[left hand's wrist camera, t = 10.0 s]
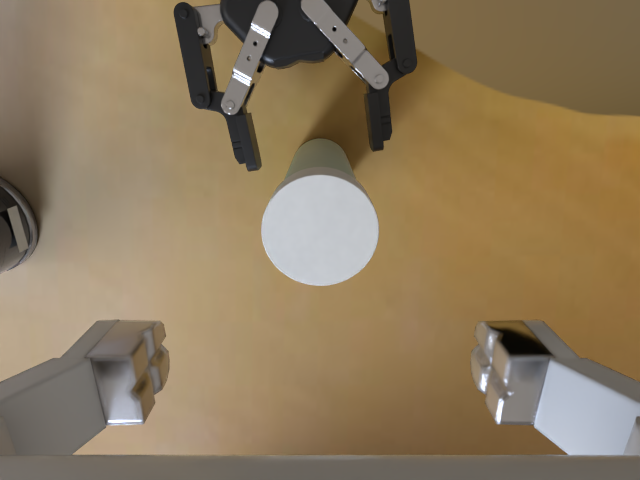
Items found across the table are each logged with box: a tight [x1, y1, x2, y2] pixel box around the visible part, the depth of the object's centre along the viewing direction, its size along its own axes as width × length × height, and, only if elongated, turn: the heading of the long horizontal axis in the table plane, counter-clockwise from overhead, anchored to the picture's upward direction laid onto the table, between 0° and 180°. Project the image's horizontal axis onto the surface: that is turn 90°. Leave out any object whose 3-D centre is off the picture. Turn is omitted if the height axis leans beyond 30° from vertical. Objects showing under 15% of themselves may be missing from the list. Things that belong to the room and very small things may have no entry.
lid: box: [261, 167, 379, 286], centre depth 19 cm, size 5×5×2 cm
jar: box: [284, 138, 356, 180], centre depth 26 cm, size 5×5×17 cm
